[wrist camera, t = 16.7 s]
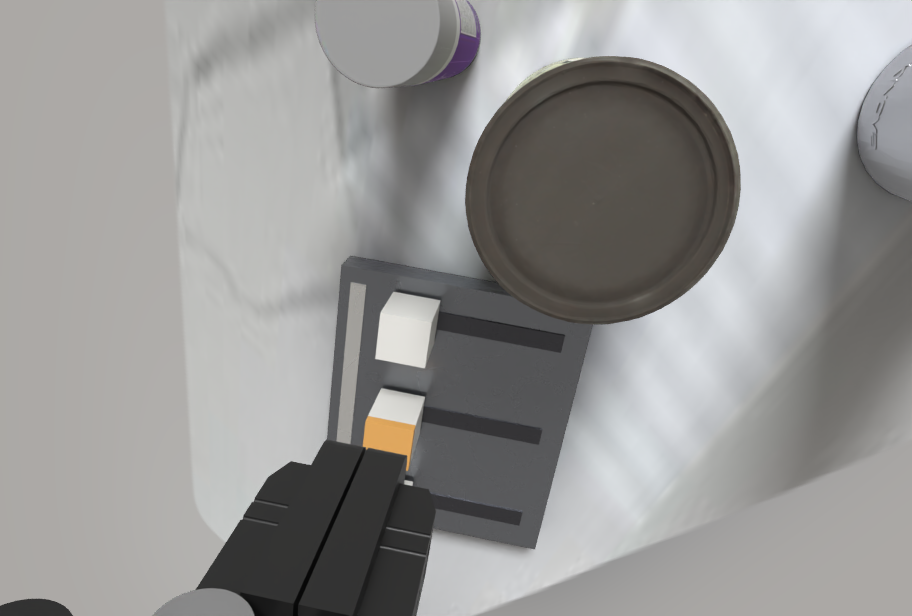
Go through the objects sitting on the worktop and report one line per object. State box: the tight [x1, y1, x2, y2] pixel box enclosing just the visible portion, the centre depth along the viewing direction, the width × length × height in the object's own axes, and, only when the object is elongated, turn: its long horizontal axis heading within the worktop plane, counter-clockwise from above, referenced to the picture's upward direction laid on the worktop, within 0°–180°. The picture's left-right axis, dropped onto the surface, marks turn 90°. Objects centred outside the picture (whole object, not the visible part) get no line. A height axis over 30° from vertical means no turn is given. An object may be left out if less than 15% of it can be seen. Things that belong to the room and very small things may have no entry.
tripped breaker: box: [363, 388, 425, 471], centre depth 40 cm, size 3×3×4 cm
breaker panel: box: [327, 256, 593, 549], centre depth 43 cm, size 16×19×2 cm
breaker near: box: [375, 292, 441, 368], centre depth 38 cm, size 3×3×4 cm
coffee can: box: [465, 56, 741, 324], centre depth 30 cm, size 10×10×14 cm
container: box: [315, 0, 481, 88], centre depth 28 cm, size 5×5×15 cm
